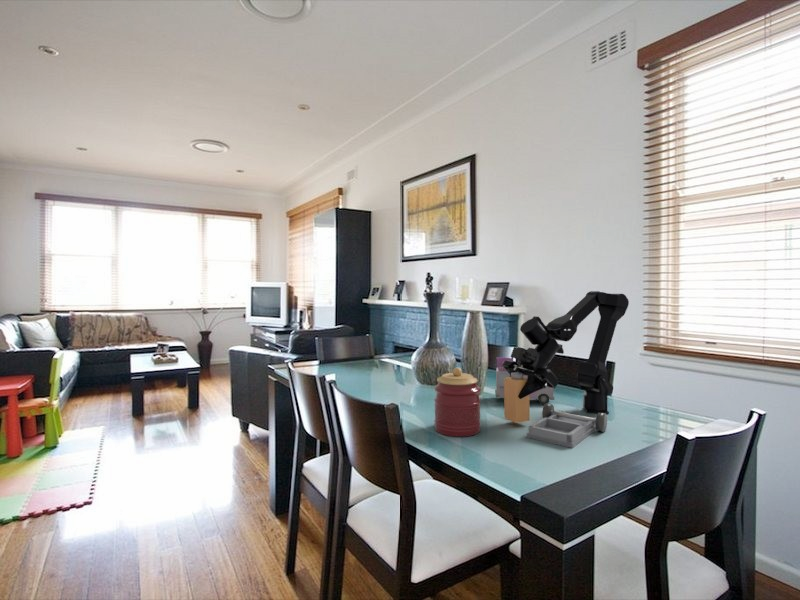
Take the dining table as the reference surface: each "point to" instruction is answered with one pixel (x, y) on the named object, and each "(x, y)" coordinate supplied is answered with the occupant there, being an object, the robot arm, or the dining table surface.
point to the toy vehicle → (501, 373)
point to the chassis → (565, 427)
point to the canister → (457, 404)
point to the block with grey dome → (515, 399)
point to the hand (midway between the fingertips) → (513, 395)
